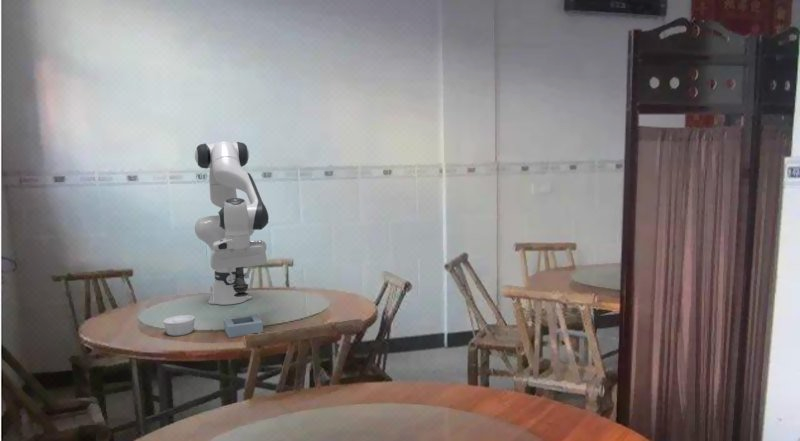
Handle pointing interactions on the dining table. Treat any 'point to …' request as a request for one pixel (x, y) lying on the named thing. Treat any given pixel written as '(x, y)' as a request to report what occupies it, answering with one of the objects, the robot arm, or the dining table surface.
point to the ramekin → (179, 325)
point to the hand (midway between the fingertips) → (240, 278)
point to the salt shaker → (240, 283)
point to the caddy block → (243, 325)
